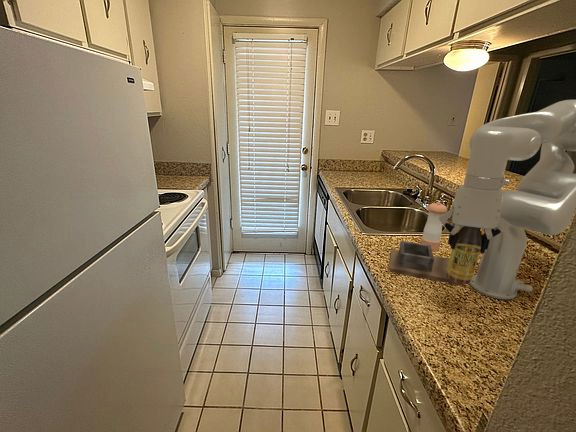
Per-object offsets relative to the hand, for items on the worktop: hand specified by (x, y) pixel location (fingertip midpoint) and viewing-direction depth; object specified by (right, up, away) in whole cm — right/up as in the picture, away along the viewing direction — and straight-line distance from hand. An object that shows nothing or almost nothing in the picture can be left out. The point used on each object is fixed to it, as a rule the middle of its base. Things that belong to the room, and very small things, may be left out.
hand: (466, 248), depth 77 cm
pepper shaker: (+12, -4, +44) cm, 46 cm away
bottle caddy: (+1, -10, +27) cm, 29 cm away
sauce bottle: (0, -9, +3) cm, 10 cm away
